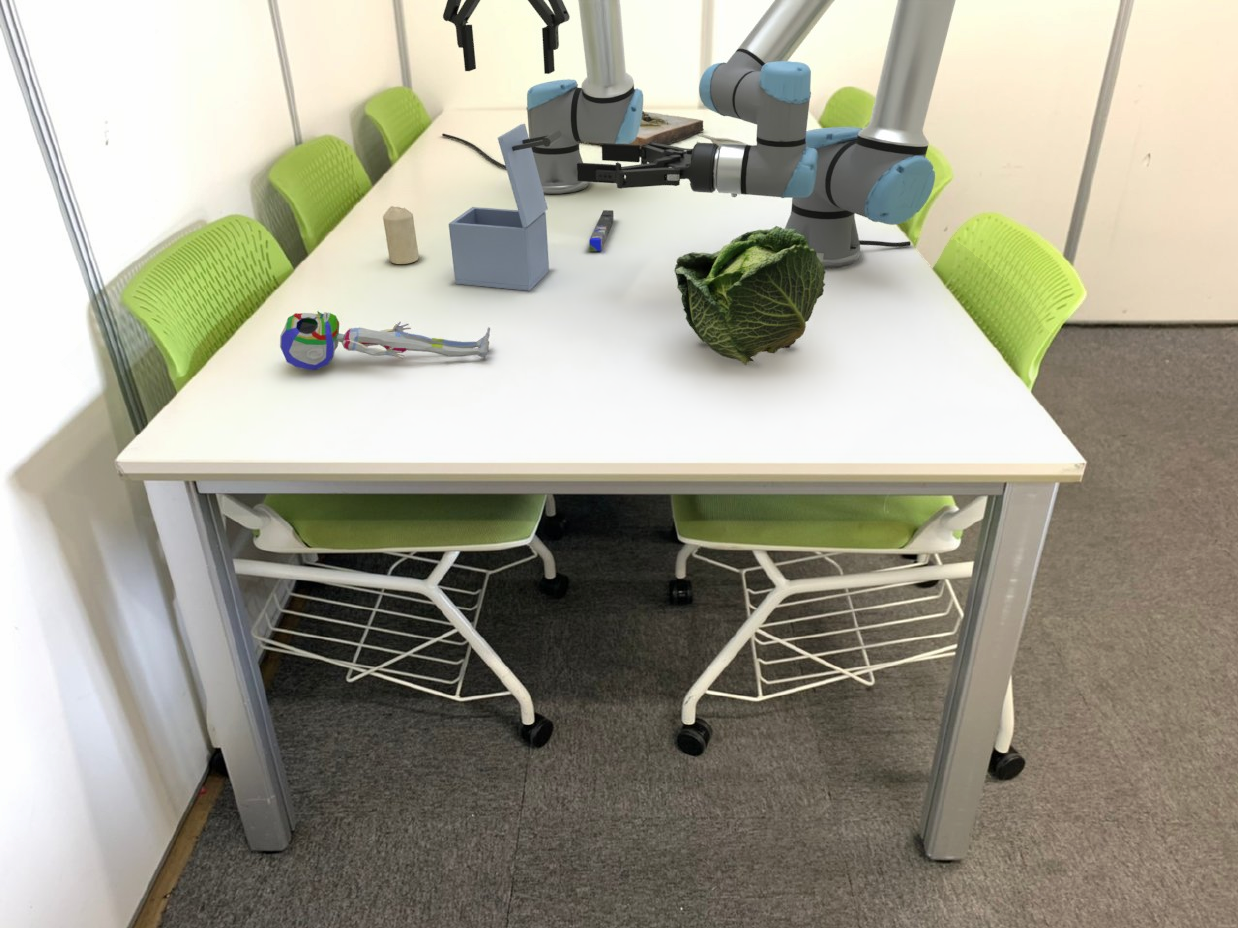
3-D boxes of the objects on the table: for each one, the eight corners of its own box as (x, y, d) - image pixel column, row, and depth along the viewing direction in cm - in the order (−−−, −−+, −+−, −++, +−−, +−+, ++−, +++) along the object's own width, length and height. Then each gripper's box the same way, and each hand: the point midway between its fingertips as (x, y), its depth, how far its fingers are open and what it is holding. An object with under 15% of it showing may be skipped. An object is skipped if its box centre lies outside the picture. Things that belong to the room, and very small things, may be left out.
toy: (489, 339, 129) (271, 322, 124) (486, 391, 133) (275, 376, 129) (491, 312, 137) (286, 295, 133) (487, 362, 142) (290, 347, 137)
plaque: (647, 125, 237) (559, 112, 252) (647, 153, 241) (560, 139, 256) (706, 107, 258) (622, 97, 273) (705, 133, 262) (622, 121, 277)
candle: (424, 256, 173) (417, 204, 168) (409, 265, 169) (401, 213, 164) (399, 253, 175) (391, 202, 170) (384, 262, 171) (375, 210, 165)
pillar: (613, 210, 190) (600, 241, 173) (613, 220, 191) (600, 251, 174) (603, 210, 190) (589, 240, 173) (603, 220, 191) (589, 251, 174)
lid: (497, 138, 145) (541, 128, 142) (520, 124, 153) (562, 115, 150) (522, 227, 152) (565, 220, 149) (543, 209, 160) (583, 202, 157)
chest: (455, 284, 161) (448, 223, 155) (478, 264, 170) (472, 206, 164) (529, 291, 158) (525, 229, 152) (549, 271, 166) (545, 212, 160)
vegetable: (709, 376, 144) (648, 269, 136) (807, 309, 145) (751, 199, 137) (761, 404, 125) (693, 282, 118) (872, 327, 127) (812, 201, 119)
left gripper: (410, -82, 133) (428, 72, 144) (570, -84, 127) (576, 77, 138) (432, -83, 139) (448, 65, 150) (586, -85, 133) (590, 69, 144)
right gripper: (701, 214, 135) (567, 205, 140) (729, 172, 155) (612, 166, 160) (703, 163, 131) (565, 156, 136) (732, 127, 151) (611, 122, 156)
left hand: (509, 71), depth 144 cm, fingers open, 13 cm apart
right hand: (590, 161), depth 148 cm, fingers open, 13 cm apart
